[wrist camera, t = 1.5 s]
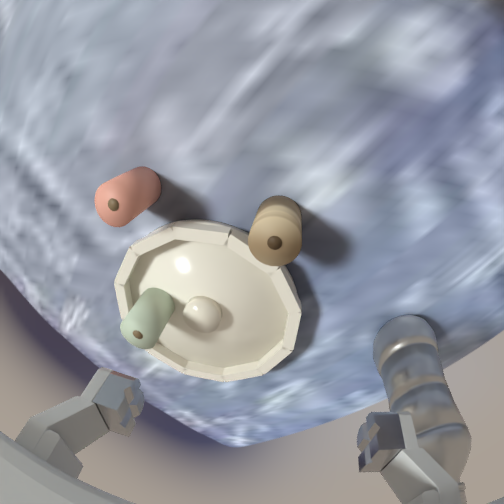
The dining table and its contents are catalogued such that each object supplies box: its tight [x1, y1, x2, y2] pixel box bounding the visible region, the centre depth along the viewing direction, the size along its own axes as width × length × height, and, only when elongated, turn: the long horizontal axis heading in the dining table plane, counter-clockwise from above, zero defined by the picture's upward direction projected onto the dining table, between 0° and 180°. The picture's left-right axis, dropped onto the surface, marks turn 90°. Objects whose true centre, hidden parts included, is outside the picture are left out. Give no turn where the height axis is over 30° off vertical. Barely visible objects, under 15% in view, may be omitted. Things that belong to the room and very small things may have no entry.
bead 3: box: [248, 196, 302, 266], centre depth 23 cm, size 4×4×5 cm
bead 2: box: [120, 288, 175, 349], centre depth 27 cm, size 4×4×5 cm
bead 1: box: [95, 167, 161, 227], centre depth 23 cm, size 4×4×5 cm
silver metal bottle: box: [373, 315, 471, 504], centre depth 20 cm, size 6×7×20 cm
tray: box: [114, 219, 302, 382], centre depth 29 cm, size 18×18×2 cm
